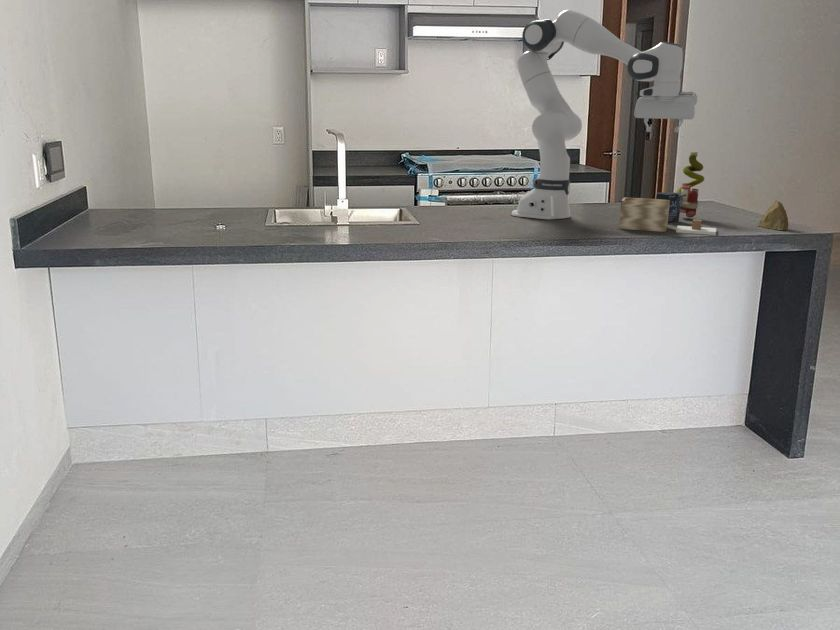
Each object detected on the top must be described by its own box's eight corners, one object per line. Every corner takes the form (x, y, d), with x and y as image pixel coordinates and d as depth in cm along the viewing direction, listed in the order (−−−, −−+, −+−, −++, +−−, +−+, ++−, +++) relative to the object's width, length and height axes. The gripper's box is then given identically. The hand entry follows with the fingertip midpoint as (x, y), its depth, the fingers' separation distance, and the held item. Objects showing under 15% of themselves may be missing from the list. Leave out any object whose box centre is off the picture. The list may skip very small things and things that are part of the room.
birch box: (618, 228, 281) (621, 200, 279) (621, 224, 290) (624, 197, 288) (665, 231, 276) (668, 203, 274) (667, 227, 285) (670, 200, 283)
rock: (797, 225, 280) (790, 217, 289) (785, 206, 278) (778, 198, 287) (768, 242, 284) (762, 233, 293) (756, 223, 282) (750, 215, 291)
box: (665, 223, 295) (668, 194, 292) (653, 220, 299) (656, 192, 296) (679, 221, 299) (682, 193, 296) (667, 219, 303) (670, 191, 300)
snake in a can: (670, 215, 311) (677, 150, 304) (696, 216, 310) (704, 151, 303) (675, 220, 300) (682, 153, 293) (703, 221, 299) (711, 154, 292)
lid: (675, 233, 276) (677, 220, 275) (677, 230, 284) (678, 217, 283) (715, 236, 272) (717, 223, 271) (715, 232, 280) (717, 219, 278)
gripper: (698, 91, 275) (693, 132, 279) (637, 90, 281) (633, 130, 285) (697, 91, 269) (693, 133, 273) (635, 90, 275) (632, 131, 279)
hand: (662, 132), depth 279 cm, fingers open, 8 cm apart
